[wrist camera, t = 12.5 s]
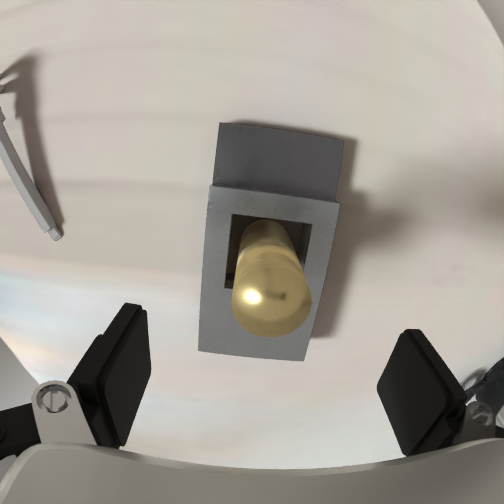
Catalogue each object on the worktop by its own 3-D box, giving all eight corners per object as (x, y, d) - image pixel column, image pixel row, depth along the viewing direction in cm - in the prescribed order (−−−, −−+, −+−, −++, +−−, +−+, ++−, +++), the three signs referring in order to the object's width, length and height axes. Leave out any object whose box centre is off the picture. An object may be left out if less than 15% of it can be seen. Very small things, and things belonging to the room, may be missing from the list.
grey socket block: (221, 124, 21) (217, 120, 18) (338, 141, 22) (350, 140, 19) (203, 331, 27) (198, 350, 24) (299, 341, 27) (303, 361, 24)
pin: (243, 216, 24) (235, 262, 14) (293, 223, 24) (319, 271, 14) (237, 264, 25) (228, 333, 15) (286, 269, 25) (303, 340, 16)
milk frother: (518, 371, 31) (562, 425, 17) (448, 432, 35) (480, 496, 20) (510, 325, 28) (573, 388, 14) (424, 402, 31) (467, 485, 17)
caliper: (-3, 79, 19) (-42, 75, 13) (3, 73, 19) (-36, 67, 13) (57, 240, 25) (18, 262, 19) (64, 235, 24) (24, 257, 19)
